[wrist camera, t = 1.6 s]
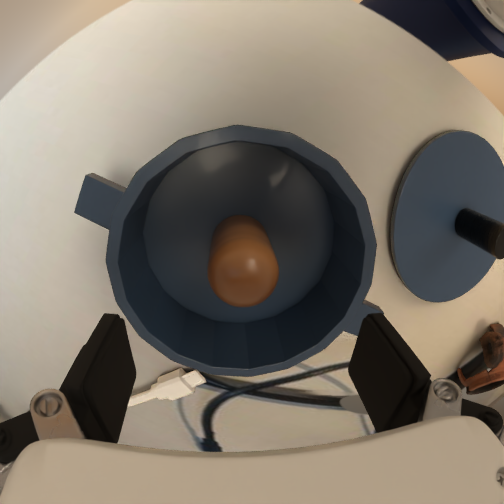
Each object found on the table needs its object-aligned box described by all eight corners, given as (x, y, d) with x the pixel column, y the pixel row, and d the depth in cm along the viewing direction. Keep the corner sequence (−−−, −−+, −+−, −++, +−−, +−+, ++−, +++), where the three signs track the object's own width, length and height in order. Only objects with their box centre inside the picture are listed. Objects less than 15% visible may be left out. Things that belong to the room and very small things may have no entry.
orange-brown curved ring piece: (503, 337, 31) (511, 384, 26) (453, 353, 36) (458, 401, 31) (514, 302, 24) (528, 362, 19) (452, 324, 29) (461, 385, 24)
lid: (438, 92, 18) (492, 88, 12) (517, 193, 22) (558, 209, 16) (351, 256, 23) (390, 298, 16) (452, 315, 27) (485, 349, 20)
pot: (156, 81, 17) (130, 61, 11) (398, 213, 22) (441, 237, 16) (85, 268, 21) (51, 304, 16) (301, 356, 26) (316, 403, 21)
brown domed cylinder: (227, 205, 20) (226, 237, 13) (277, 229, 21) (299, 271, 14) (203, 253, 21) (192, 304, 15) (251, 275, 22) (261, 331, 16)
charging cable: (214, 378, 28) (215, 402, 24) (47, 430, 30) (41, 445, 27) (186, 346, 26) (183, 370, 23) (24, 410, 28) (16, 425, 25)
